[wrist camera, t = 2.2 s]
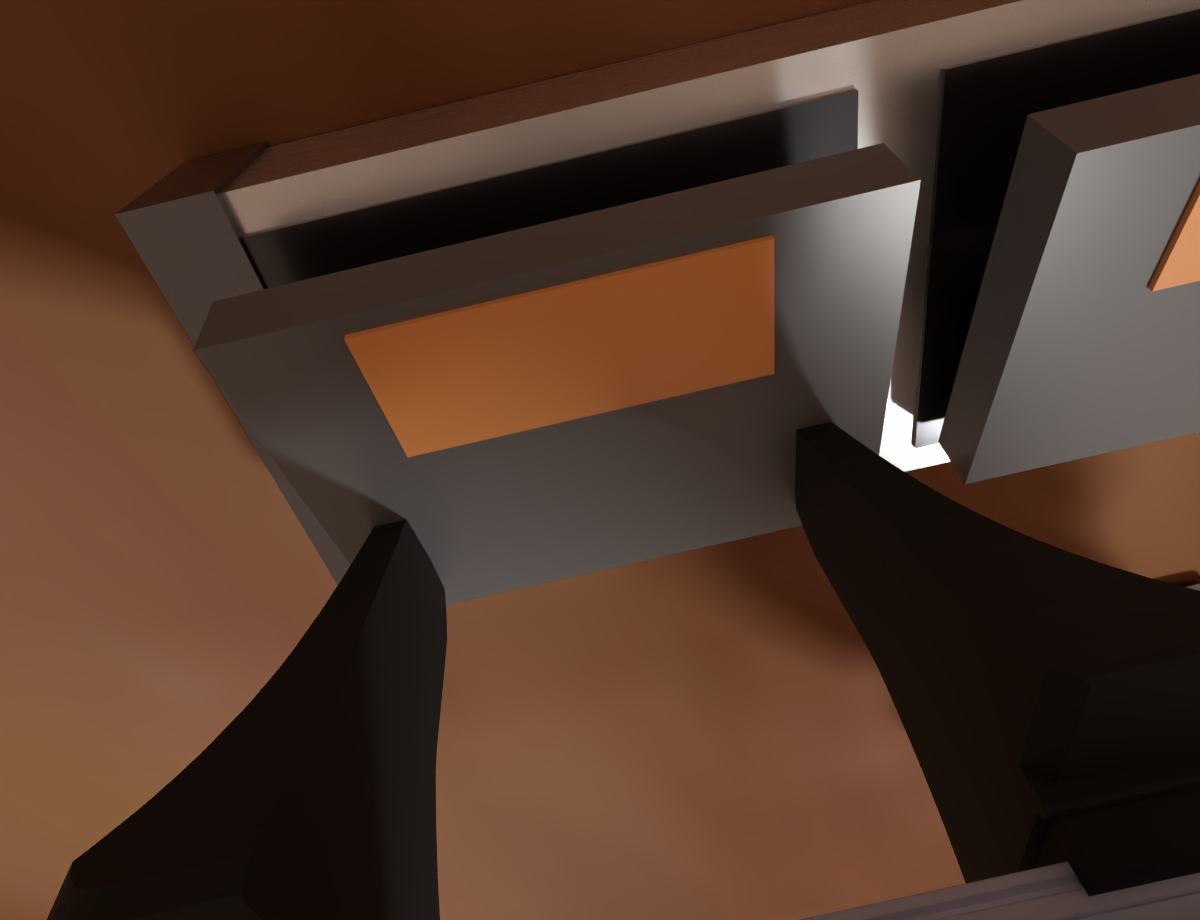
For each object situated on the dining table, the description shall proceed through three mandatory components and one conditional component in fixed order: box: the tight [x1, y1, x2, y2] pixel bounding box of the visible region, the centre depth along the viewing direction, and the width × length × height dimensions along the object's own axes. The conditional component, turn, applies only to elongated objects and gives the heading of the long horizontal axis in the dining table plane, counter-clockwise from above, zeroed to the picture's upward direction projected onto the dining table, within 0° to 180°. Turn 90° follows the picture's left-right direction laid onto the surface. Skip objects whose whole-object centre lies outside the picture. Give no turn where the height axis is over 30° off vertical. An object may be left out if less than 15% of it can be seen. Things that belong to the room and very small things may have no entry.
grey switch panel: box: [115, 0, 1200, 585], centre depth 15 cm, size 9×37×3 cm, turn 101°
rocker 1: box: [193, 143, 921, 605], centre depth 13 cm, size 7×10×2 cm
